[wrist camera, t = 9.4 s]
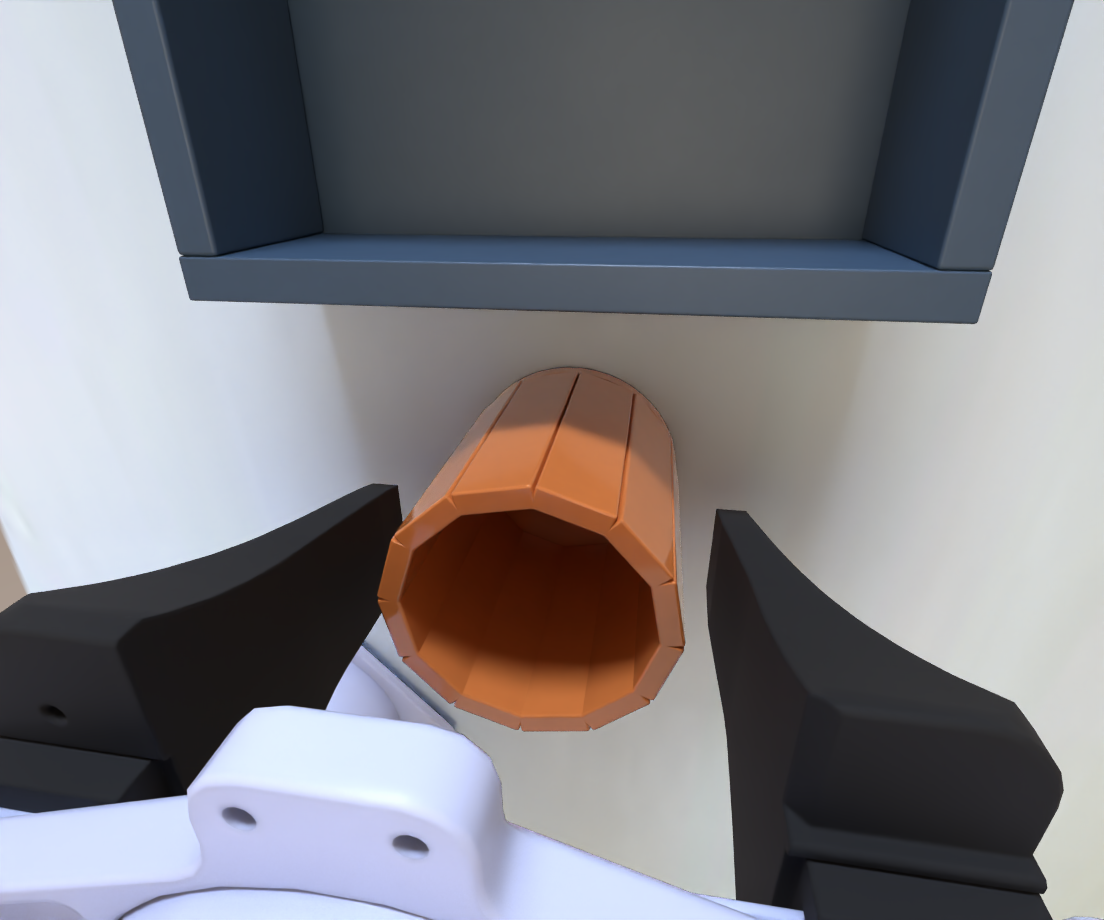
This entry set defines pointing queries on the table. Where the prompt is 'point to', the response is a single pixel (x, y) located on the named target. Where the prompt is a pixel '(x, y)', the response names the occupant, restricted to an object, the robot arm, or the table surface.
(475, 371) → the table surface
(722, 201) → the dark grey storage bin
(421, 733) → the robot arm
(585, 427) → the cup
